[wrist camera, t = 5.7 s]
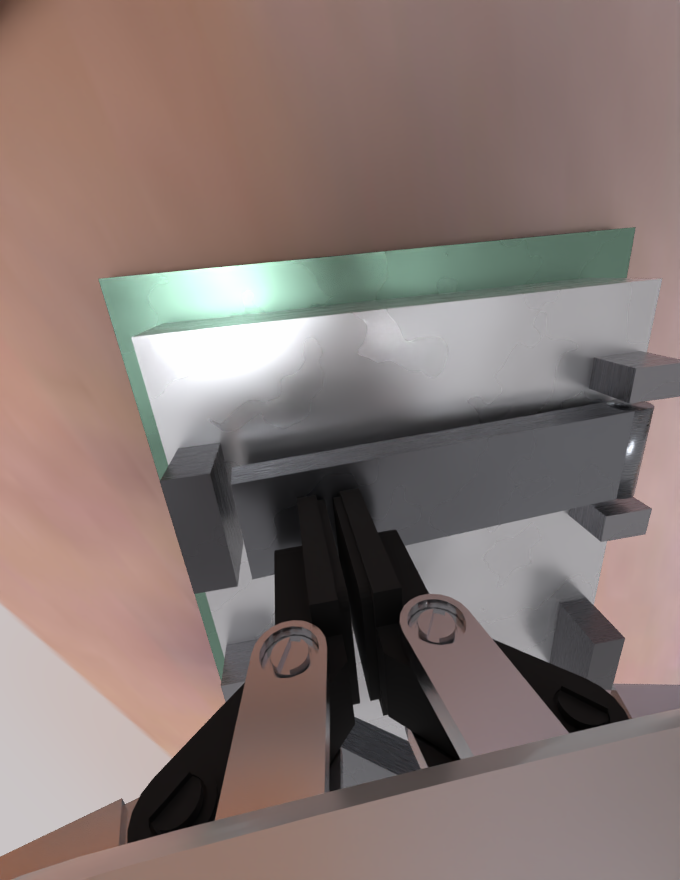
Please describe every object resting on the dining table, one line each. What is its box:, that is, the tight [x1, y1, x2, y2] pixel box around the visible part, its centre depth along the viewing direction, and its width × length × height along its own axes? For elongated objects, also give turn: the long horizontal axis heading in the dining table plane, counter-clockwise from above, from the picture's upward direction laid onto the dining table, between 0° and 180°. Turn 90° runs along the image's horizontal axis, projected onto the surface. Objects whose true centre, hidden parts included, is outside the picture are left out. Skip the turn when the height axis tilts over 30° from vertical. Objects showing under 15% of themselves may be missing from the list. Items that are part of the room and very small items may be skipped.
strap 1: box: [341, 717, 421, 788], centre depth 13 cm, size 13×3×1 cm
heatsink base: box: [99, 227, 680, 740], centre depth 16 cm, size 18×22×6 cm
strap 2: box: [231, 399, 654, 580], centre depth 12 cm, size 13×3×1 cm, turn 96°
